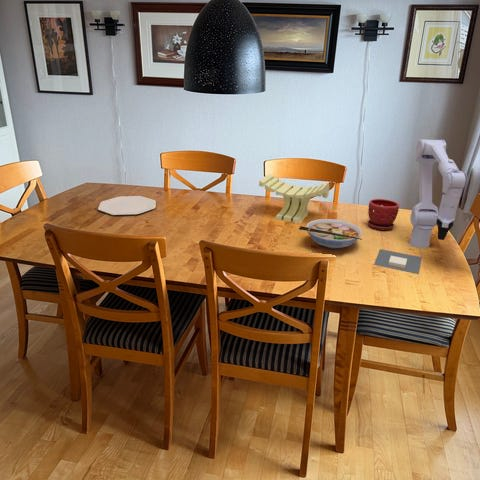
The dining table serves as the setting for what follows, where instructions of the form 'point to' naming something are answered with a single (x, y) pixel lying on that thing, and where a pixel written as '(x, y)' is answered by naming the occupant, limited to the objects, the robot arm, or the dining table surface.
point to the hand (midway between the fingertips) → (440, 239)
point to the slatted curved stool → (293, 197)
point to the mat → (412, 261)
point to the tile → (397, 261)
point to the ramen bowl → (333, 232)
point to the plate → (127, 205)
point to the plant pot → (382, 213)
